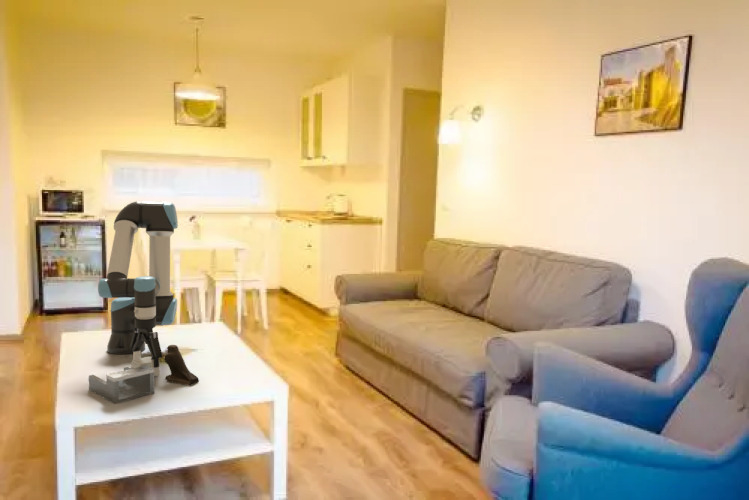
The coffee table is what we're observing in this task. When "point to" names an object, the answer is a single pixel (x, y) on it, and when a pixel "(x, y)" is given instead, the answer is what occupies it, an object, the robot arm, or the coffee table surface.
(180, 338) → the coffee table surface
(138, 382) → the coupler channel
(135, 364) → the small box
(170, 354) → the sculpture
